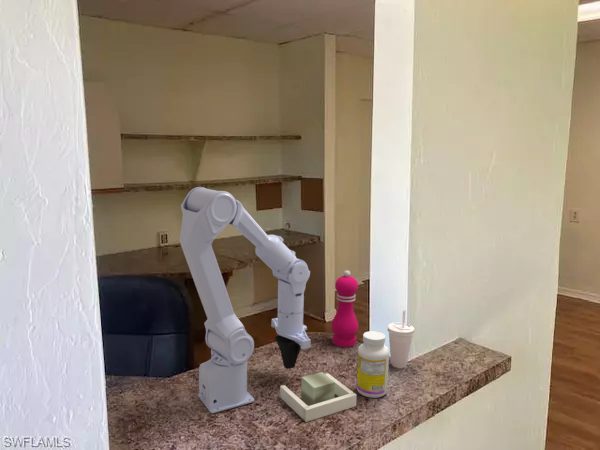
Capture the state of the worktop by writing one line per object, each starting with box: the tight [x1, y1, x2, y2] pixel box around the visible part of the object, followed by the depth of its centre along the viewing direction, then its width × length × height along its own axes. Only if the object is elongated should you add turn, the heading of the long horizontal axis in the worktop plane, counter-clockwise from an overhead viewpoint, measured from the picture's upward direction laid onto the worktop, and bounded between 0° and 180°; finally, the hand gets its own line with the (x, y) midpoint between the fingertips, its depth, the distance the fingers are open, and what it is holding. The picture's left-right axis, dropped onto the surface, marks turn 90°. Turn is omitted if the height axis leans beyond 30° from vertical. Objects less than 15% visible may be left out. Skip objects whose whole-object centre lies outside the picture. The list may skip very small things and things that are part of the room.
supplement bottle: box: [356, 330, 390, 399], centre depth 105 cm, size 7×7×13 cm
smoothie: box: [386, 309, 415, 369], centre depth 118 cm, size 6×6×14 cm
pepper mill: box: [330, 270, 359, 348], centre depth 129 cm, size 7×7×20 cm
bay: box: [279, 372, 357, 423], centre depth 101 cm, size 12×10×2 cm
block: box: [300, 371, 336, 406], centre depth 101 cm, size 5×5×5 cm
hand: (289, 367), depth 111 cm, fingers closed
